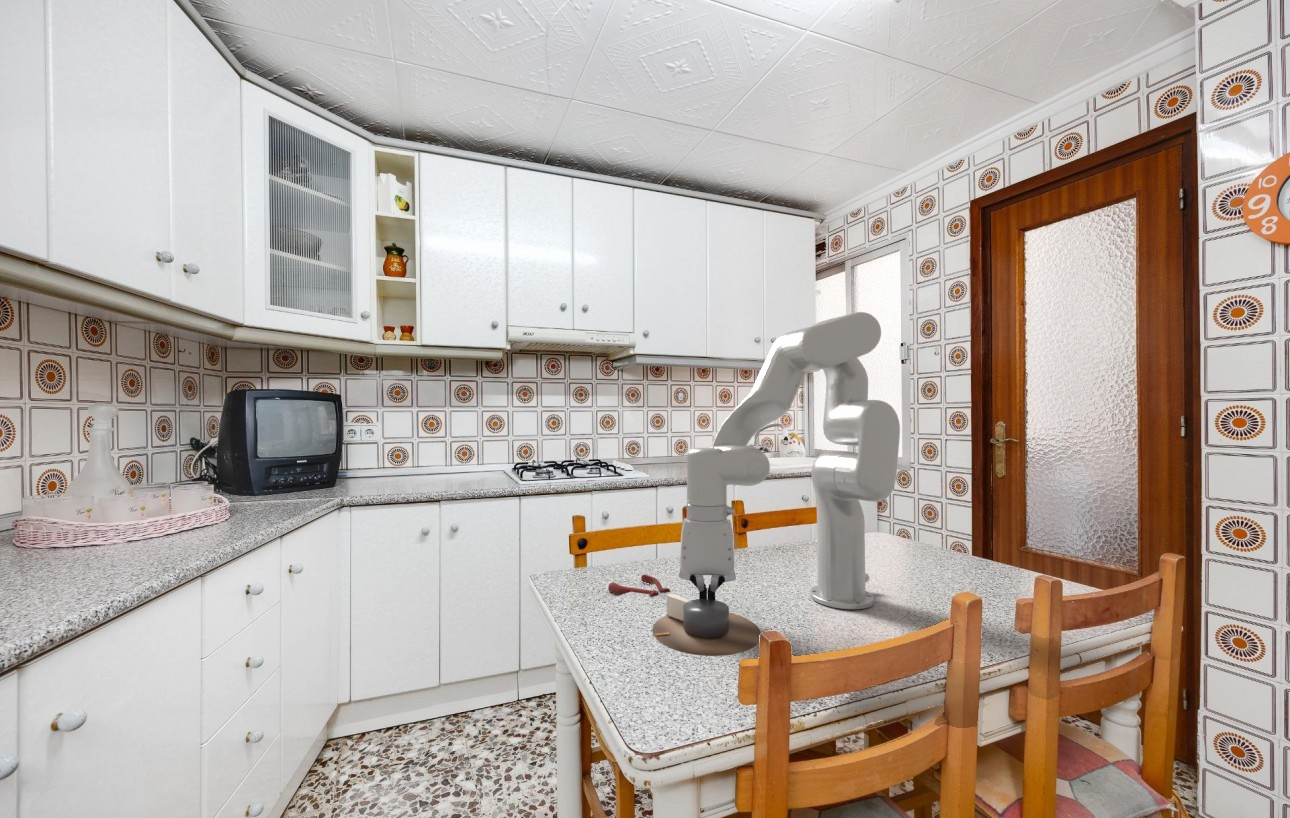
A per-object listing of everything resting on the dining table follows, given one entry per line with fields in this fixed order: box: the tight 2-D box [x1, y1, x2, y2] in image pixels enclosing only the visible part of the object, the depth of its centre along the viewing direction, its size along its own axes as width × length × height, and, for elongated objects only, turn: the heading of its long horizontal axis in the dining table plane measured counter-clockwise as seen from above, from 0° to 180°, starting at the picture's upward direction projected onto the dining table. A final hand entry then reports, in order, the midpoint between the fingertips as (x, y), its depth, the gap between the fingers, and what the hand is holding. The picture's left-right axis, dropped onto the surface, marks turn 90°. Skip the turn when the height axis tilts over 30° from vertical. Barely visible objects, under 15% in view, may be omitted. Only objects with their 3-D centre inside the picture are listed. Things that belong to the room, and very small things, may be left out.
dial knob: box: [666, 593, 730, 638], centre depth 90 cm, size 13×8×4 cm, turn 44°
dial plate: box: [651, 612, 762, 657], centre depth 88 cm, size 19×19×2 cm
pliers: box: [608, 574, 671, 600], centre depth 108 cm, size 12×20×3 cm, turn 38°
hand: (707, 610), depth 94 cm, fingers closed
